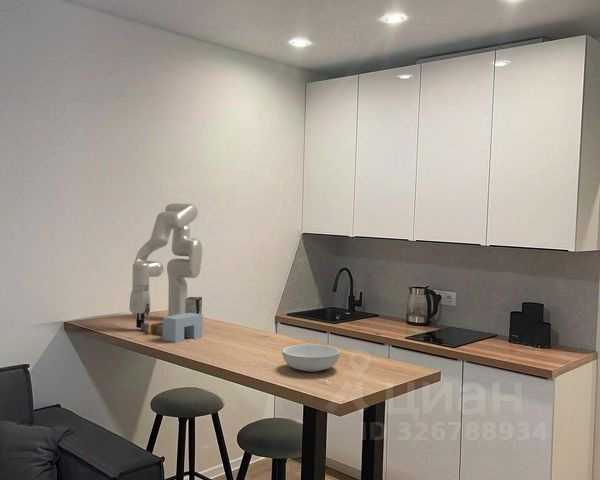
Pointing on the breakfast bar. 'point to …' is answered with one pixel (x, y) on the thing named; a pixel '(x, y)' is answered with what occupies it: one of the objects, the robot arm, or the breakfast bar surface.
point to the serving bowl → (310, 357)
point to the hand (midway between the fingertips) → (140, 327)
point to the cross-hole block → (182, 327)
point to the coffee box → (193, 305)
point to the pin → (152, 328)
